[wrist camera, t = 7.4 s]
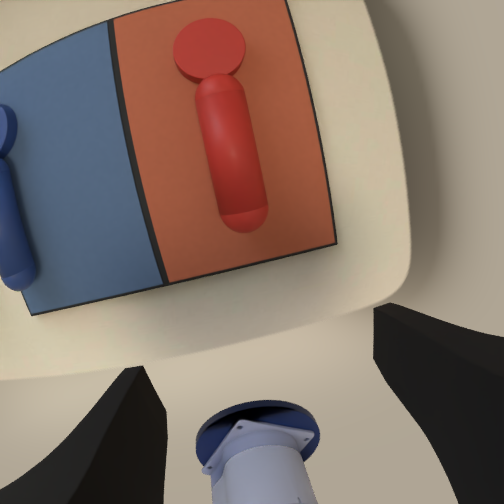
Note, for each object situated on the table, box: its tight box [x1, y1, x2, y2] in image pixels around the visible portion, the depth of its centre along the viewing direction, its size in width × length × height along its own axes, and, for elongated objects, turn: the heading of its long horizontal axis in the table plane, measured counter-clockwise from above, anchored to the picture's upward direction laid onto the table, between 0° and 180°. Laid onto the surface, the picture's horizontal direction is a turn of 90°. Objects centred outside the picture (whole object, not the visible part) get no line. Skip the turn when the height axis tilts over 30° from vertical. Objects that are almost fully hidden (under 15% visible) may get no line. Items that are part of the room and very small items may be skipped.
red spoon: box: [173, 18, 269, 233], centre depth 14 cm, size 11×4×2 cm, turn 12°
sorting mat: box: [0, 0, 338, 316], centre depth 15 cm, size 16×20×1 cm
